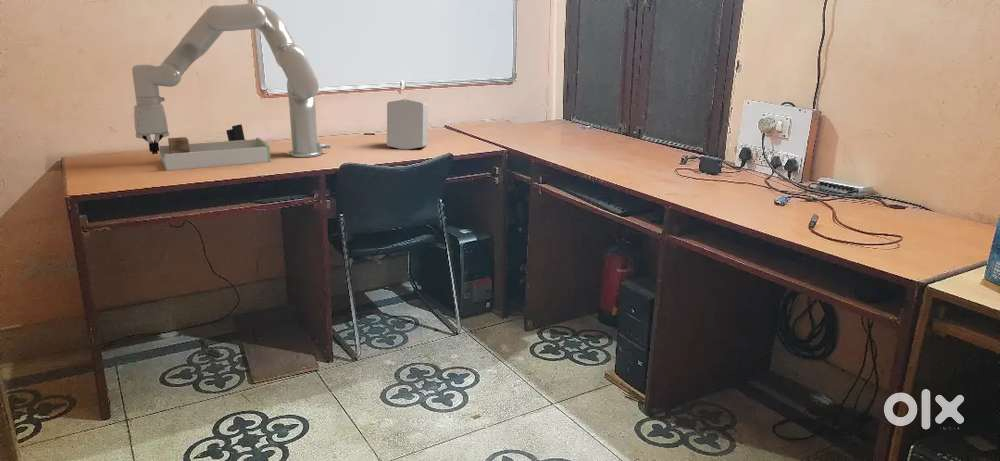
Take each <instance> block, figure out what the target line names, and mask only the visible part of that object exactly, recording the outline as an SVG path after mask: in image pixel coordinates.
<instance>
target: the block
mask: <svg viewBox="0 0 1000 461" xmlns="http://www.w3.org/2000/svg"><path fill="white" fill-rule="evenodd" d="M167 141H168V145H169V151H170V154H175V153H189V152H190V151H189V144H190V143H189V138H187V136H183V137H182V136H181V137H169V138H167Z"/></svg>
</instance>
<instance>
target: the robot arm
mask: <svg viewBox="0 0 1000 461" xmlns="http://www.w3.org/2000/svg"><path fill="white" fill-rule="evenodd" d="M246 30H248V31H249V30H259V31H260V32H261V33H262V35H263V37H264V38H265V40H266V42H267V43H268V45H269V46H268V47H269V48H270V50H271V52H272V54H273V57H274V58H275V59H274V60H275V61H276V63H277V65H278V66H279V67H280V68H282V72H284V75H285V77H286V79H287V81H286V89H287V96H288V106H289V119H290V120H289V122H290V135H291V150H288V151H287V153H288V156H289V157H294V158H312V157H318V156H321V155H322V154H323V149H331V143H330V142H329V143H328V142H327V143H325V142H324V143H323V142H322V143H321V142H319V141H318V130H317V129H318V128H317V113H316V111H317V109H316V100H315V96H316V95H317V93H318V91H319V82H318V78H317V77H316V74H315V72H314V70H313V68H312V66H311V63H310V62H309V60H308V57H307V56H306V54H305V52H304V51H303V49H302V48H301V47H299V46H298V45H296V44H295V42H294V40H293V38H292V36H291V34H290V32H289V30H288V28H287V26H286V25H285V22H284V21H283V19H282V18H281V17H280V16H279V14H277V13H276V12H275V11H274V10H272V9H271V8H269V7H268V6H265V5H262V4H258V3H252V2H250V3H249V2H248V3H243V4H242V3H241V4H231V5H228V4H227V5H211V6H210V7H207V9H206V10H204V12H203V14H202V15H201V16H200V17H199V18H198V19H197V21H195V23H194V24H193V25H192V26H191V28H190V29H189V30H188V31H187V32H186V33H185V35H184V36H182V38H181V39H180V41H179V42H178V44H177V45H176V46H175V47H174V49H173V50H172V51H171V52H170V54H169V55H168V56H166V58H165V59H164V60H163V61H162V62H161V64H160V65H155V66H154V65H152V64H136V65H133V66H132V69H131V70H132V72H131V74H132V79H133V88H134V94H135V104H134V105H133V106H134V107H133V119H134V128H135V138H137V139H143V140H144V141H146V142H147V143H148V149H149V152H150V153H152V155H158V154H159V153H158V152H160V148H159V146H160V145H159V143H160V142H161V140H162V139H163V138H166V137H169V136H170V133H169V131H168V122H167V116H166V112H165V107H164V105H163V103H162V102H165V97H162V96H161V95H160V90H159V87H168V88H172V87H176V86H178V85H179V84H180V82H181V79H182V76H183V75H184V74H185V72H187V70H188V69H189V68H190V67H191V66H192V64H193V63H194V62H196V60H198V59H200V58H201V57H202V56H204V55H205V54H206V53H207V52H208V50H209V49H210V48H211V47H212V46H213V44H215V42H216V41H217V40H218V38H220V36H221V35H222V34H223V33H224V32H233V31H234V32H235V31H237V32H238V31H246ZM151 135H154V140H152V138H151Z"/></svg>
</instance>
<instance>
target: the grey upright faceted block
mask: <svg viewBox="0 0 1000 461" xmlns="http://www.w3.org/2000/svg"><path fill="white" fill-rule="evenodd" d="M428 112H429V111H428V104H427V103H426V102H425V103H424V102H419V101H415V100H410V99H406V98H405V99H399V100H392V101H387V103H386V145H387V147H389V148H390V147H391V148H395V149H400V150H411V149H418V148H424V147H427V144H428V116H429V115H428Z"/></svg>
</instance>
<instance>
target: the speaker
mask: <svg viewBox="0 0 1000 461" xmlns="http://www.w3.org/2000/svg"><path fill="white" fill-rule="evenodd" d="M226 135H227V139H228V140H227V141H237V140H246V138H245V134H244V129H243V125H242V124H237V125H232V126H231V129H227V130H226Z"/></svg>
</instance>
